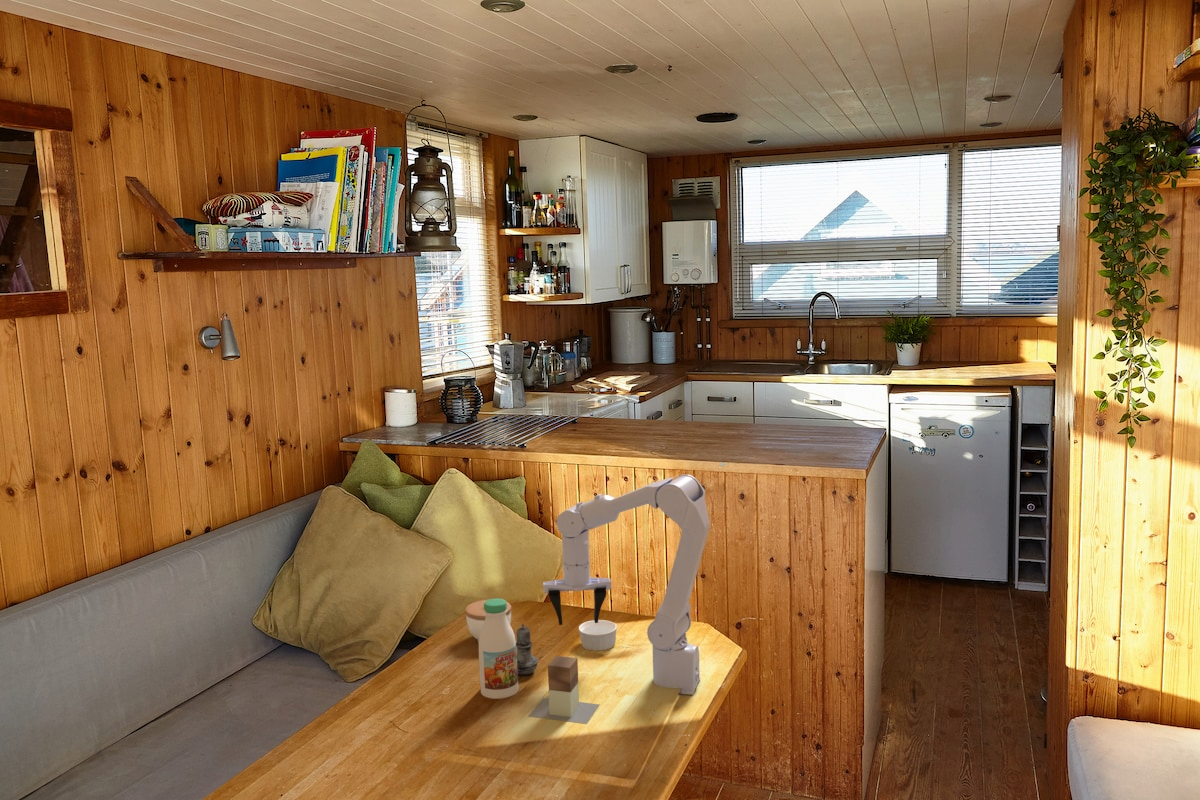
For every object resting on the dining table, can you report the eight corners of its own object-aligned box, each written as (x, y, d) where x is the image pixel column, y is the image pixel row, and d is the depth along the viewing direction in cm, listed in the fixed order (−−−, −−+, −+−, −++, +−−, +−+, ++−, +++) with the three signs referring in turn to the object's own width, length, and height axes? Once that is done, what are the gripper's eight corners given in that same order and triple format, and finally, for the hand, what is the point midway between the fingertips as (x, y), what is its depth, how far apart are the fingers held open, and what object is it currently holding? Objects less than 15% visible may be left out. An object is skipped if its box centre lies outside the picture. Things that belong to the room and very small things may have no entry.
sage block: (578, 706, 185) (578, 682, 184) (571, 717, 181) (570, 692, 180) (557, 703, 186) (556, 679, 186) (549, 714, 182) (548, 690, 182)
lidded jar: (521, 634, 224) (520, 597, 222) (493, 651, 215) (491, 612, 213) (486, 626, 229) (484, 589, 228) (457, 642, 221) (455, 604, 219)
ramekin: (574, 650, 214) (573, 632, 213) (585, 635, 223) (585, 618, 222) (611, 654, 212) (610, 635, 211) (621, 638, 220) (621, 621, 219)
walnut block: (578, 682, 184) (577, 658, 184) (570, 692, 180) (569, 667, 179) (556, 679, 186) (555, 655, 185) (548, 689, 182) (547, 665, 181)
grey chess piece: (535, 683, 198) (532, 629, 196) (508, 681, 199) (505, 628, 197) (542, 671, 204) (539, 618, 202) (516, 669, 205) (513, 617, 203)
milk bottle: (473, 698, 192) (468, 605, 189) (494, 683, 199) (490, 592, 196) (505, 706, 188) (500, 611, 185) (525, 690, 195) (521, 598, 192)
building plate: (599, 709, 186) (599, 704, 186) (587, 728, 178) (586, 723, 178) (543, 702, 189) (543, 697, 189) (528, 721, 182) (528, 716, 182)
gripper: (542, 569, 197) (545, 631, 199) (611, 566, 198) (613, 627, 200) (542, 559, 204) (544, 618, 206) (608, 555, 205) (610, 615, 207)
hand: (578, 622), depth 203 cm, fingers open, 7 cm apart
